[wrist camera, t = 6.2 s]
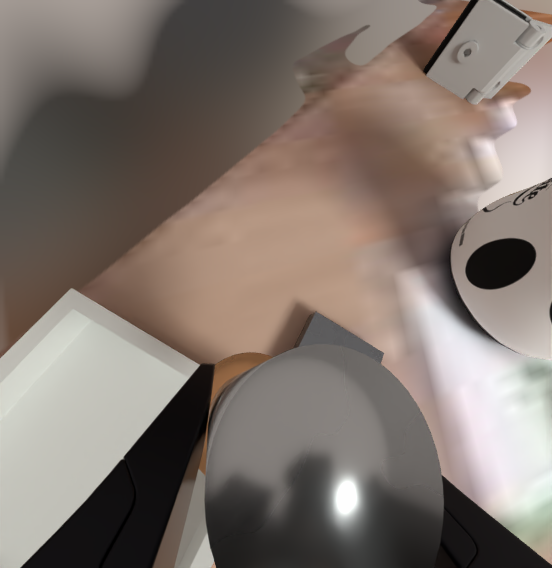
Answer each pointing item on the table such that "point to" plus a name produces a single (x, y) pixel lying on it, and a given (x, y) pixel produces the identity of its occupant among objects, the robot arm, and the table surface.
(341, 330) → the stud plate
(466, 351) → the table surface
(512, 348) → the milk container
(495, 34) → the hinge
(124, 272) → the table surface
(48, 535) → the bin
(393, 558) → the knob
